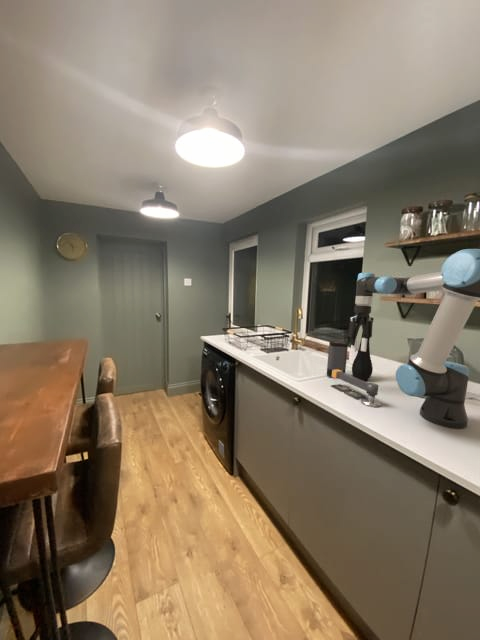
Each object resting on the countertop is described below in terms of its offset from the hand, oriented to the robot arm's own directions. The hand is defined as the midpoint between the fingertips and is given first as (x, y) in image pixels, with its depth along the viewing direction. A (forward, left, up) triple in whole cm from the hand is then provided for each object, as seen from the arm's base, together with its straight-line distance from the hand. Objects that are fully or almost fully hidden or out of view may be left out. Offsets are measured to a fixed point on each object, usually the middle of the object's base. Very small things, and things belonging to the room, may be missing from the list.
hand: (358, 351), depth 136 cm
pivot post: (-17, +8, -19) cm, 27 cm away
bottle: (+10, -15, -19) cm, 26 cm away
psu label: (+1, +8, -19) cm, 21 cm away
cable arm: (-7, +8, -14) cm, 18 cm away
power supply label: (-8, +8, -19) cm, 22 cm away
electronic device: (+17, -3, -19) cm, 26 cm away
